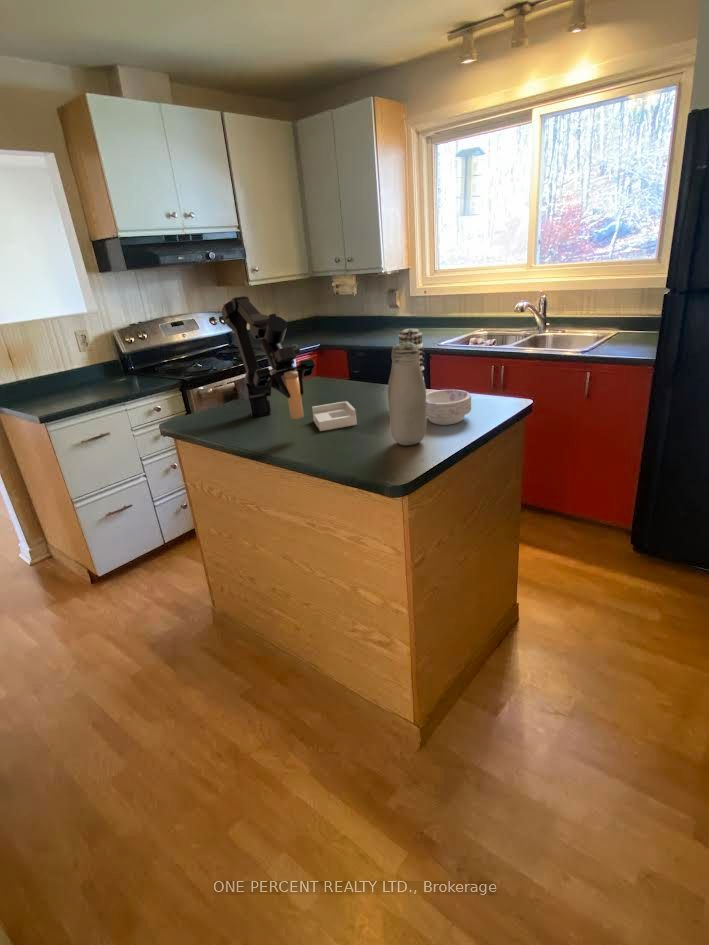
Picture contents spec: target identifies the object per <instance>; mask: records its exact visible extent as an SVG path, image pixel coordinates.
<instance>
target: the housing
mask: <svg viewBox="0 0 709 945" xmlns="http://www.w3.org/2000/svg"><path fill="white" fill-rule="evenodd" d="M311 409H312V411H311V412H312V417H313V423H314V424H315V426H316V427H317V428H318V430H319V432H322V431H329V430H334V429H339V428H345V427H351V426H356V425H358V421H357V410H356V409H355V408H354V406H352V404H351V403H349V401H347V400H345V401H338V402H332V403H326V404H321V405H314V406H311Z"/></svg>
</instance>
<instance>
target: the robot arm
mask: <svg viewBox="0 0 709 945" xmlns="http://www.w3.org/2000/svg"><path fill="white" fill-rule="evenodd" d="M221 316H222V318H223V319H224V320H225V324H226V325H227V327H228V328H229V329H230V330H232V331H233V333H234V336H235V341H236V343H237V347H238V351H239V352H240V357H241V359H242V363H243V366H244V369H245V375H244V380H243V382H244V386H243V389H242V390H243V391H242V395H243V398H244V400H246V401H248V402H249V406H250V414H251V415H250V416H251V417H252V418H257V417H264V416H270V415H271V412H272V410H271V404H270V403H271V402H270V400H269V398H268V397H272V388H273V389H275V390H276V391H278V392H280V393H281V394H282V395H283V396H284V397H286V398H287V399H288V398H290V394H289V392H288V390H287V388H286V383H284V382H285V381H283V379H282V377H284V373H285V372H288V371H298V377H299V385H300V392H301V396H303V395H304V384H303V382H304V381H303V378H305V377H310V376H312V375H313V373H314V370H315V368H316V365H317V364H316V362H315V360H314V359H313V358H306V359H301V360H300V361H299V364H298V365H294V363H295V360H294V359H295V358H297V356H299V355H300V354H301V348H300V346H299V345H298V343H294V344H291V345H290V346H286V347H283V345H282V343H283V341H284V338H285V335H286V332H287V328H288V322H287V321H286V320H285V319H284V318H282V317H280V316H277V315H276V313H271V314H268V315H267V314H263V313H261V312H260V311H259V310H258V309H257V308H256V307H255V306H254V305H253V304H252V303H251V301H250V299H249V297H248V296H246V295H241V296H235V297H233V298H231V300H230V301H228V302H226V303H225V304H223V306H222V308H221ZM248 325H249V331H248V327H247V326H248ZM249 332H250V333H249ZM250 334H251V336H252V337H253V338H254V339H255V340H257V341H258V340H261V342H260V346H261V352H262V353H264V354H265V357H266V358H267V361H268V363H267V365H268V366H269V367H271V369H270V368H269V367H262V368H260V366H259V363H258V360H257V356H256V354H255V349H254V346H253V344H252V340H251V337H250Z"/></svg>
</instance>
